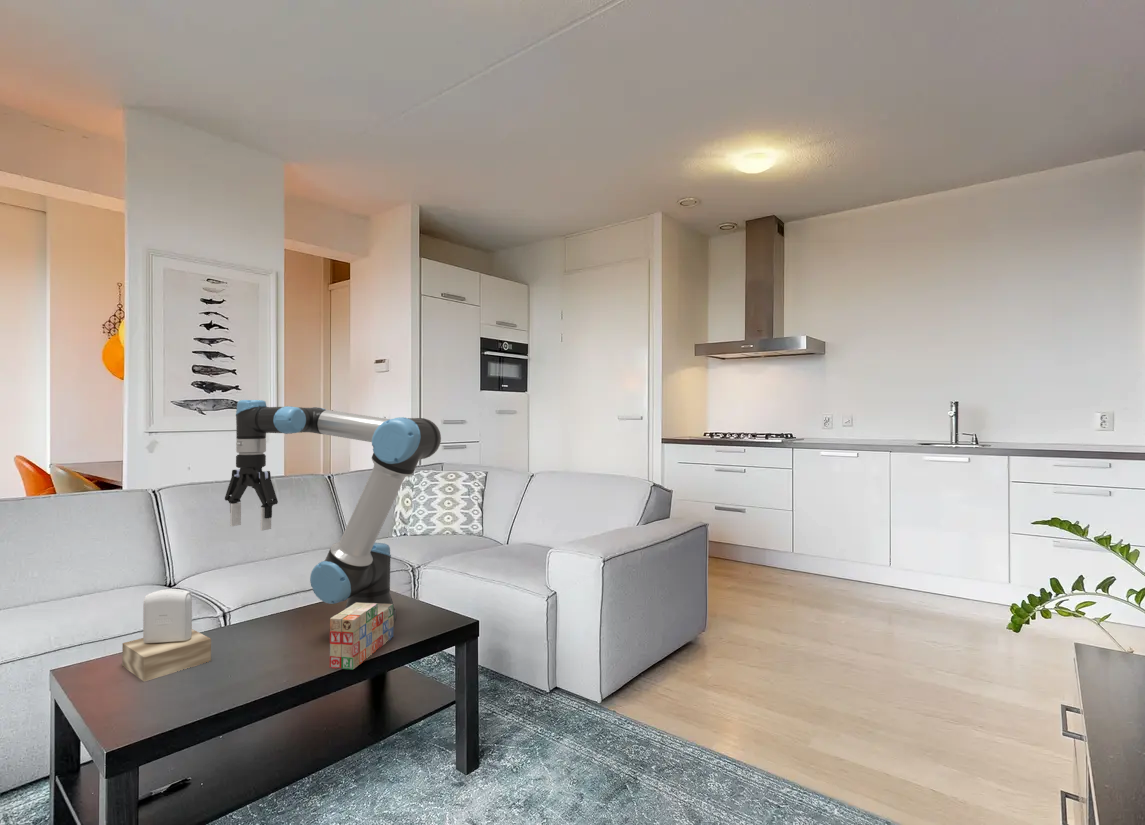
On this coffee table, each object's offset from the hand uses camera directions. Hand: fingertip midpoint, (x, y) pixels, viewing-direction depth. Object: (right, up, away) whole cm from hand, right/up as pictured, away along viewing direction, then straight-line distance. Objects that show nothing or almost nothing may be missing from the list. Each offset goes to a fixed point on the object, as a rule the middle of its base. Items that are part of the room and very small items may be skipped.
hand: (250, 527), depth 168 cm
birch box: (-7, -29, -25) cm, 39 cm away
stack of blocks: (+39, -29, -17) cm, 51 cm away
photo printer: (-7, -23, -25) cm, 34 cm away
